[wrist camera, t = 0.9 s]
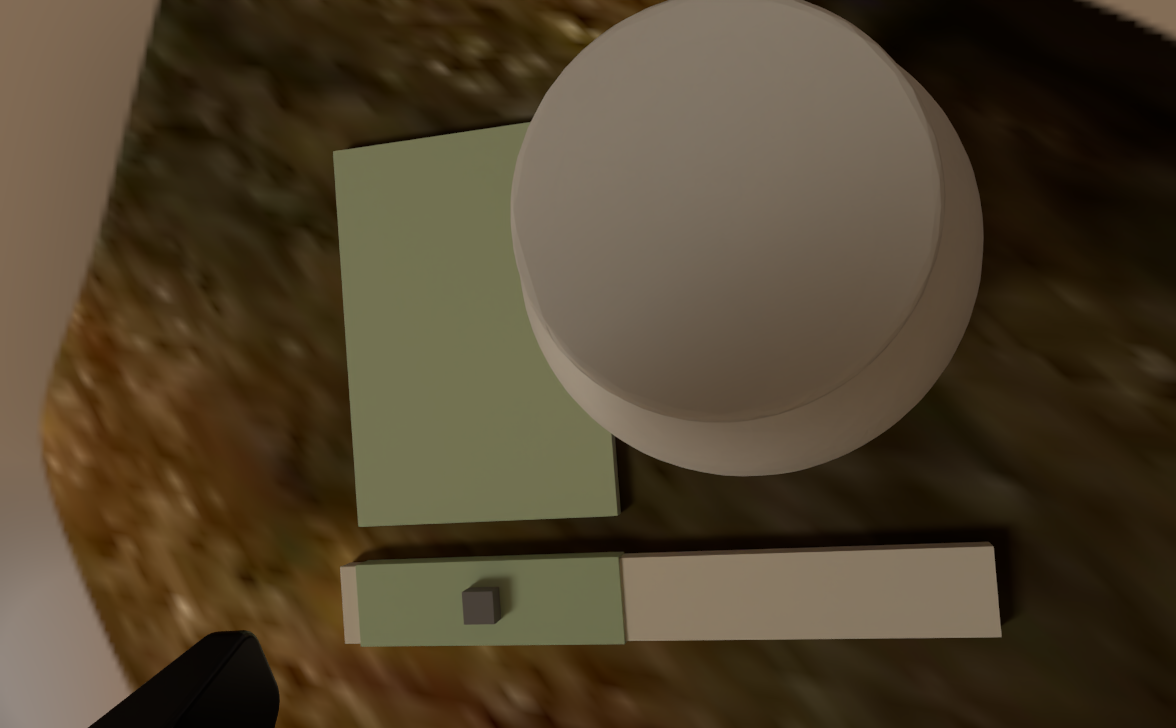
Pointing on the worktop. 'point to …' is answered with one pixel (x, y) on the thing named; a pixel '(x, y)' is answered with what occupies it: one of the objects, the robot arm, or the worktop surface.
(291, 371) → the worktop surface
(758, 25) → the supplement bottle
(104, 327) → the worktop surface
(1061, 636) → the worktop surface
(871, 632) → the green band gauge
